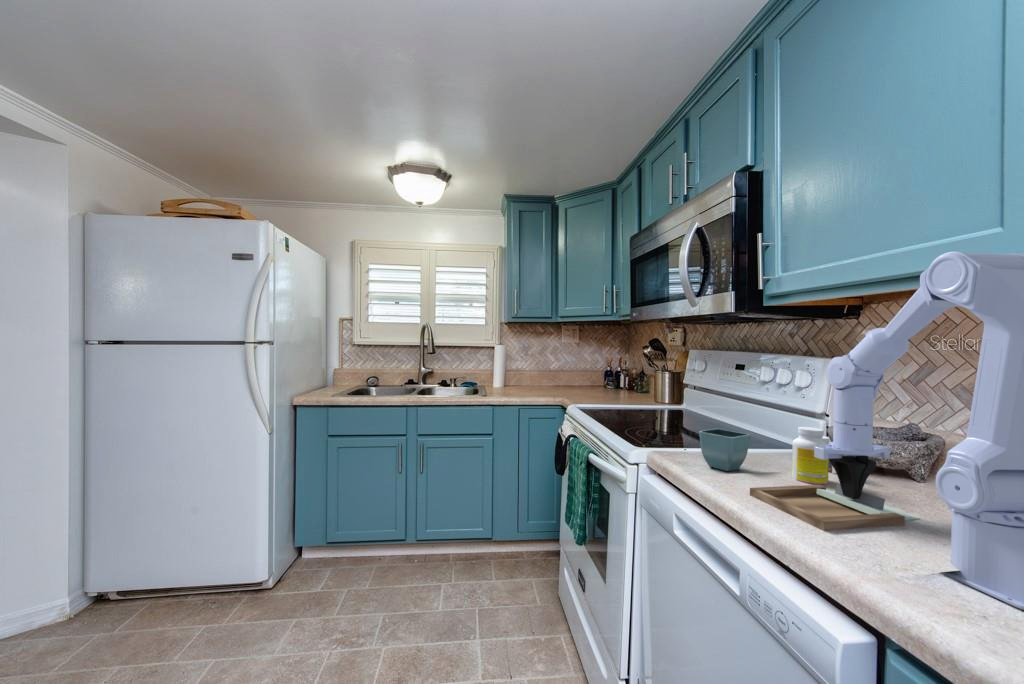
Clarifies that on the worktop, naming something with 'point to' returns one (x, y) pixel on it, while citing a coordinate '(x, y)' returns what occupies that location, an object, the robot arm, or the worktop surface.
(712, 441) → the flower pot
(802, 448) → the supplement bottle
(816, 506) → the wooden box
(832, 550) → the worktop surface
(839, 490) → the cover plate
